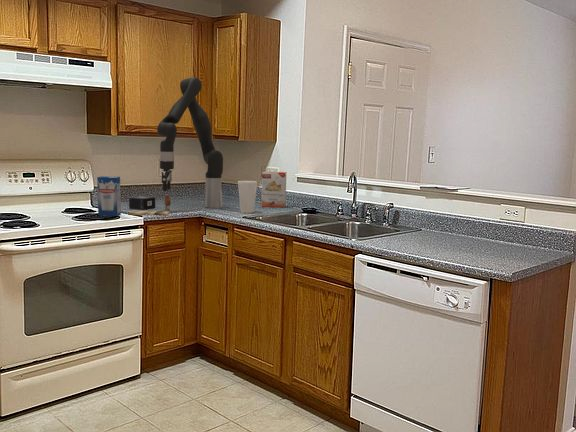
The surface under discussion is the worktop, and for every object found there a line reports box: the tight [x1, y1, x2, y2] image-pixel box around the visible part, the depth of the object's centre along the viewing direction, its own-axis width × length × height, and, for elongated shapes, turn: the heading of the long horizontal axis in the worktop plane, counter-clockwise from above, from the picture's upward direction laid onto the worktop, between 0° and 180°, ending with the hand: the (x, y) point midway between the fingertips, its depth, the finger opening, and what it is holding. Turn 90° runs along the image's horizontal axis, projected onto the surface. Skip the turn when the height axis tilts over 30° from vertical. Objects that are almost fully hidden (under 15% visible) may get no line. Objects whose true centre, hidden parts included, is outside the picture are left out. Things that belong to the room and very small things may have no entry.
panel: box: [128, 210, 171, 216], centre depth 322 cm, size 20×9×1 cm, turn 90°
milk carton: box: [96, 175, 122, 217], centre depth 312 cm, size 10×6×20 cm, turn 89°
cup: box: [237, 180, 258, 214], centre depth 334 cm, size 11×10×17 cm
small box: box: [128, 195, 156, 211], centre depth 343 cm, size 11×6×10 cm
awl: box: [164, 194, 171, 212], centre depth 329 cm, size 3×3×9 cm
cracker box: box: [261, 170, 287, 208], centre depth 359 cm, size 14×6×21 cm, turn 83°
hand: (166, 190), depth 329 cm, fingers open, 8 cm apart
